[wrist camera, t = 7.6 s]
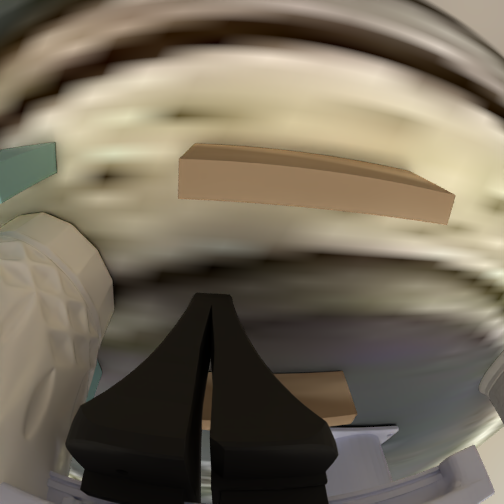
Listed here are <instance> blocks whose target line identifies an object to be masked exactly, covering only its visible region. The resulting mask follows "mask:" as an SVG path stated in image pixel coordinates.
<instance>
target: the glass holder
mask: <svg viewBox="0 0 504 504" xmlns="http://www.w3.org/2000/svg"><path fill="white" fill-rule="evenodd" d="M479 391H480V392H481V393H482V394H484V395H486V396H487V397H488V398H489V399H490V401H491V402H492V404H493V406H494V407H495V409H496V411H497V413H498V414H499V416H500V418H501V420H502V422H503V424H504V351H503V352H502V353H501V354H500V355H499V356H498V357H497V359H496V360H495V361H494V362H493V364H492V365H491V366H490V368H489V369H488V370H487V372H486V373H485V375H484V376H483V378H482V380H481V382H480V384H479Z"/></svg>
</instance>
